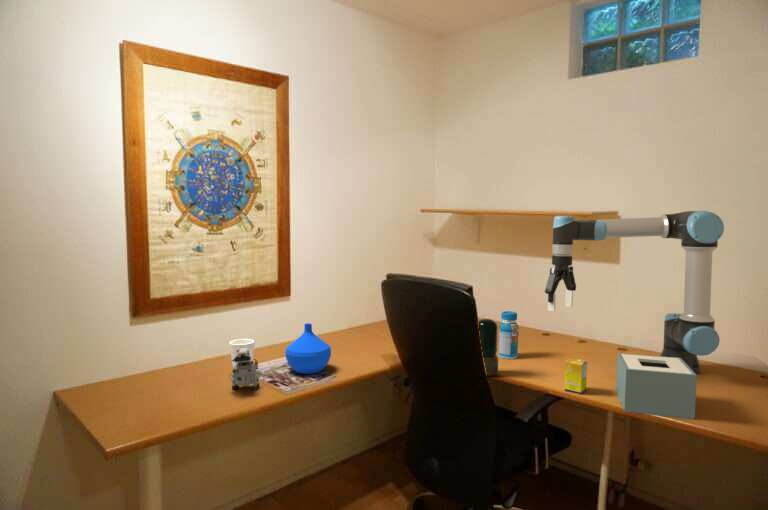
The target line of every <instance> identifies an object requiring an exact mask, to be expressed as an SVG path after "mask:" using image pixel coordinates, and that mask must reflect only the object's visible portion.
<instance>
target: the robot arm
mask: <svg viewBox="0 0 768 510" xmlns="http://www.w3.org/2000/svg"><path fill="white" fill-rule="evenodd" d="M724 225H725V224H724V221H723V220H722V218H721V217H720V216H719V215H717V214H716V213H714V212H712V211H707V210H688V211H682V212H676V213H668V214H661V215H660V216H656V217H654V216H653V217H633V218H632V217H631V218H613V219H611V218H609V219H607V218H606V219H587V220H586V219H585V220H583V219H580V220H579V219H578V220H575V217H574V215H555V217H554V218H553V225H552V246H551V248H552V256H551V264H552V265H553V266H554V267H550V268H549V274H548V275H549V276H548V279H547V280H546V281H547V282H546V285H545V287H544V288H545V289H544V293H545V294H547V311H550V312H556V300H557V299H556V298H557V296H556V294H555V293H556V290H557V289H558V286H559V285H560V284H559V283H560V282H561V281H563V283H564V285H565V288H566V290H565V297H564V298H565V300H564V301H565V303H564V306H565V307H568V308H569V307H570V308H572V307H573V301H574V300H573V298H574V296H573V295H574V291H576V290H577V283H576V281H575V280H576V279H575V276H574V266H573V253H574V251H573V250H574V248H573V247H574V241H596V242H597V241H604V240H606V238H608V239H611V238H639V237H661V239H675V240H681V242H680V243H681V248H682V249H683V250H684V251H685V260H684V263H685V266H684V267H685V268H684V295H683V297H684V298H683V299H684V300H683V312H682V313H679V312H678V313H677V312H676V313H675V312H674V313H673V312H672V313H671V312H669V313H666V314H665V316H664V320H663V323H664V324H663V325H664V327H663V347H662V351H661V353H660V355H659V356H664V357H677V358H681V359H682V360H683V361H684V362H685V363H686V364H687V365H688V366H689V367H690V368H691V369H692V371H693V372H694V373H695V374H696V375H698V374H699V373H701V364H700V361H699V358H698V356H708V355H711V354H712V353H714V352H715V351H716V350H717V349H718V348H719V344H720V339H721V337H720V335H719V333H718V332H717V330H716V329H715V325H716V324H715V318H714V317H713V316H712V315H711V301H712V300H711V298H712V275H713V273H712V272H713V271H712V270H713V267H712V266H713V252H714V251H715V250H716V249H718V245H719V244H718V242H719V240H720V238H722V236H723V234H724V231H725V226H724Z"/></svg>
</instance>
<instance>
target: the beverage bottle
mask: <svg viewBox="0 0 768 510" xmlns="http://www.w3.org/2000/svg"><path fill="white" fill-rule="evenodd" d="M501 320H502V321H501V322H500V325H499V332H498V335H499V337H498V339H499V340H498V343H499V344H498V346H499V347H498V348H499V349H498V356H499V357H500V358H502V359H506V360H508V359H509V360H513V359H514V360H515V359H517V358H518V357H519V354H518V353H519V349H518V348H519V334H520V333H519V325H518V323H517V320H518V313H517V312H516V311H512V310H511V311H510V310H508V311H505V310H504V311H501Z"/></svg>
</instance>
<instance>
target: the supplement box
mask: <svg viewBox="0 0 768 510" xmlns="http://www.w3.org/2000/svg"><path fill="white" fill-rule="evenodd" d="M564 365H565V367H564V368H565V369H564V370H565V372H564V374H565V375H564V392H568V393H573V394H577V395H582V394H583V393H585V391H587V376H588V375H587V374H588V372H587V371H588V370H587V369H588V360H583V359H579V358H573V357H571V358H569V359H567V360H565V364H564Z"/></svg>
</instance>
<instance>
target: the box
mask: <svg viewBox="0 0 768 510" xmlns="http://www.w3.org/2000/svg"><path fill="white" fill-rule="evenodd" d="M616 358H617V359H616V360H617V362H616V382H615V383H616V384H615V392H616V394H617V397H618V399H619V401H620V404H621V407H622V409H623V412H624V413H626V412H627V413H635V414H642V415H643V414H644V415H652V416H659V417H660V416H661V417H671V418H679V419H681V418H682V419H691V420H695V419H696V417H695V416H696V399H697V385H698V384H697V383H698V381H697V380H698V374H695V373H694V372H693V371H692V369H691V368H690V367H689V366H688V365H687V364H686V363H685V362H684V361H683V360H682V359H681V358H677V357H664V356H660V355H652V354H651V355H649V354H636V353H625V352H624V353H622V352H617V357H616Z"/></svg>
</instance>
